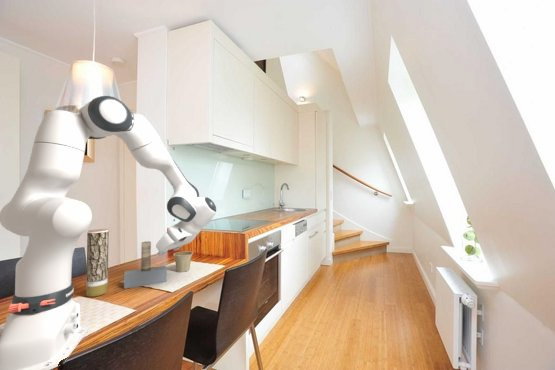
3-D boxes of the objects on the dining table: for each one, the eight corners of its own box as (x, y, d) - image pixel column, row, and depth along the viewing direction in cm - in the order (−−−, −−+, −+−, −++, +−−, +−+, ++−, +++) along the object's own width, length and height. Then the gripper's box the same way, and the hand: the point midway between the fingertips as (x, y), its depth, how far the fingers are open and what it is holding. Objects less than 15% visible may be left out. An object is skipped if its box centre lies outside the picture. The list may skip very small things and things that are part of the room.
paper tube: (96, 298, 93) (97, 232, 94) (81, 296, 95) (82, 231, 95) (111, 291, 100) (112, 229, 100) (97, 289, 101) (98, 228, 102)
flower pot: (193, 272, 123) (193, 254, 124) (172, 274, 120) (172, 256, 120) (192, 266, 132) (192, 250, 132) (173, 268, 129) (173, 252, 129)
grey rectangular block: (165, 278, 114) (165, 265, 114) (166, 281, 110) (166, 268, 110) (124, 285, 106) (124, 271, 106) (124, 288, 102) (124, 274, 102)
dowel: (150, 270, 108) (151, 242, 108) (141, 271, 106) (141, 243, 106) (150, 268, 111) (150, 241, 111) (141, 269, 109) (141, 241, 109)
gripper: (197, 221, 114) (178, 241, 116) (166, 228, 94) (144, 252, 97) (205, 231, 113) (187, 251, 115) (176, 240, 93) (154, 264, 95)
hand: (167, 251), depth 106 cm, fingers open, 8 cm apart
